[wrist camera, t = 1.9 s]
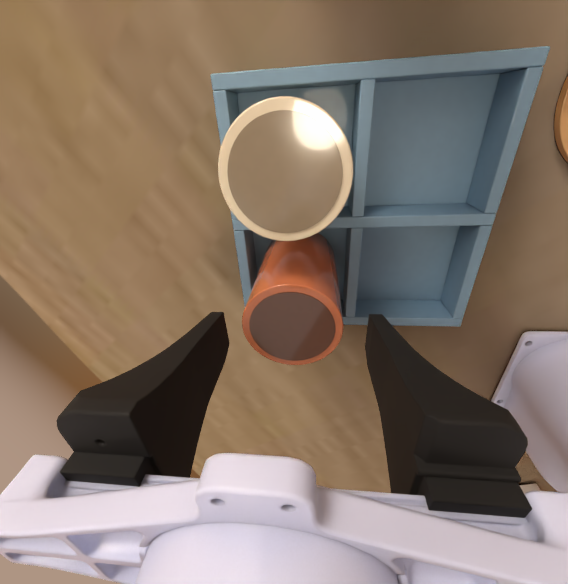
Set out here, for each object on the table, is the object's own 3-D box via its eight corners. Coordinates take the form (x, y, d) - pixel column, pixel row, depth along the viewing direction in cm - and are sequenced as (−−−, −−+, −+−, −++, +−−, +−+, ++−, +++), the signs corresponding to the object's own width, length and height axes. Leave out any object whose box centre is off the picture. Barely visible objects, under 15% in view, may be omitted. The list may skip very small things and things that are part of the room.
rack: (445, 303, 23) (460, 326, 20) (254, 302, 25) (247, 323, 22) (513, 56, 15) (551, 45, 13) (225, 79, 17) (209, 73, 14)
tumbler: (333, 291, 23) (341, 367, 16) (268, 291, 23) (247, 364, 17) (336, 226, 20) (346, 284, 13) (262, 228, 21) (234, 284, 14)
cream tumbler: (338, 195, 19) (349, 241, 12) (259, 198, 20) (228, 243, 13) (341, 100, 16) (358, 90, 10) (250, 106, 17) (205, 101, 10)
